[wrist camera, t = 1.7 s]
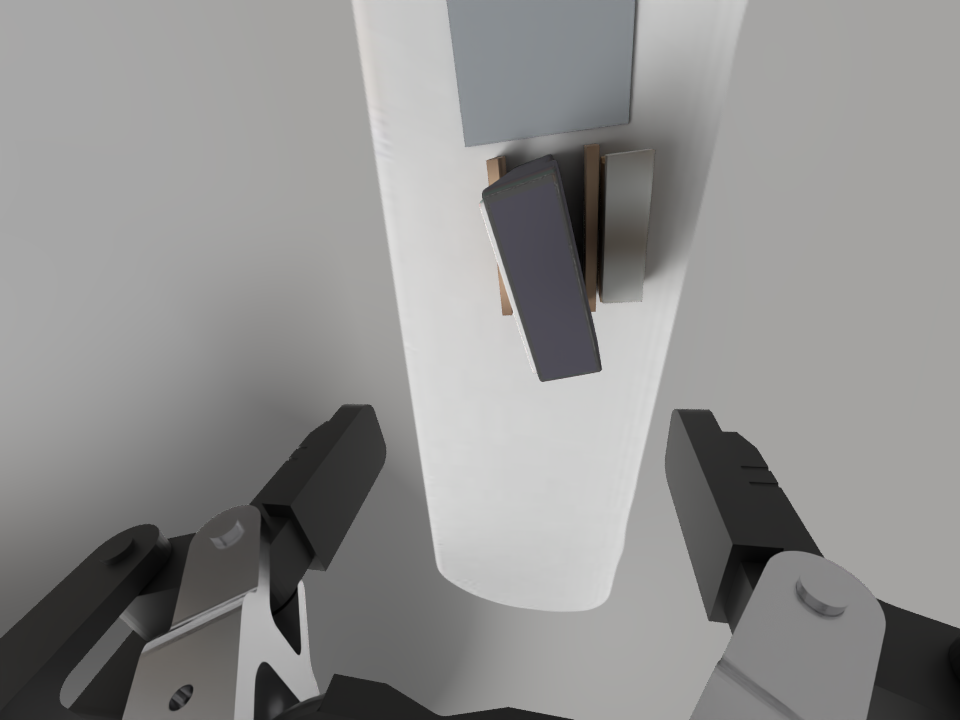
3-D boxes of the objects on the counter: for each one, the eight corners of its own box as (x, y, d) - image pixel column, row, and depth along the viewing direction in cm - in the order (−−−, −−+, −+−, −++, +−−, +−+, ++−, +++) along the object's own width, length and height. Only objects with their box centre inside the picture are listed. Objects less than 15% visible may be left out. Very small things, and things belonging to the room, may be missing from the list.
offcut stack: (600, 152, 29) (607, 155, 24) (640, 147, 28) (655, 149, 24) (597, 286, 34) (602, 310, 29) (630, 284, 33) (641, 309, 29)
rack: (495, 157, 30) (486, 160, 27) (595, 143, 28) (599, 145, 25) (508, 298, 36) (502, 315, 32) (592, 293, 34) (595, 311, 31)
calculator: (506, 170, 30) (464, 197, 18) (559, 150, 29) (555, 164, 16) (541, 296, 35) (528, 388, 22) (588, 284, 34) (603, 374, 21)
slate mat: (447, -5, 26) (445, -7, 25) (636, -51, 23) (638, -54, 23) (466, 147, 30) (465, 147, 30) (627, 123, 27) (628, 123, 27)
